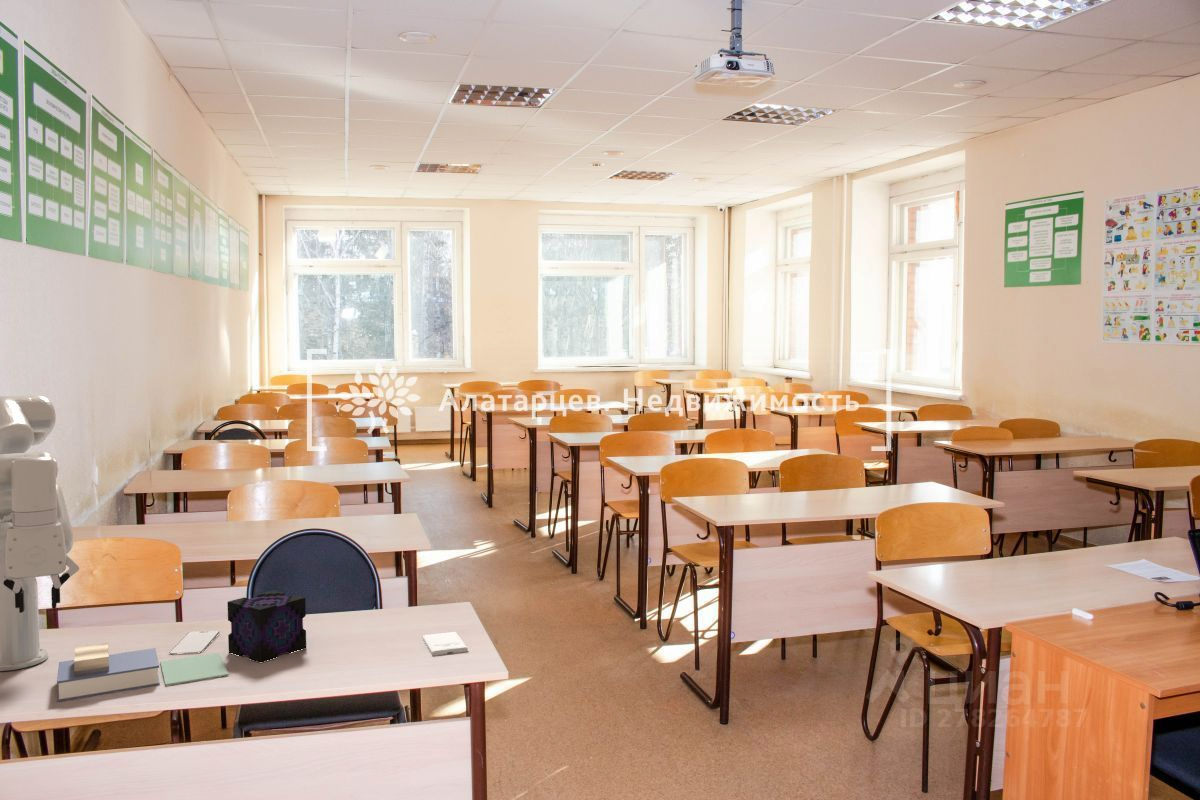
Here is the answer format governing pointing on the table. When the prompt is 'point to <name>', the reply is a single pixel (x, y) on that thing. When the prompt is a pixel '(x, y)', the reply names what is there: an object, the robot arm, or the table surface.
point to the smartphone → (194, 642)
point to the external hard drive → (444, 643)
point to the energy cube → (266, 625)
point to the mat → (193, 669)
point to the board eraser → (91, 659)
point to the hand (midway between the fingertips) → (38, 608)
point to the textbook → (110, 675)
